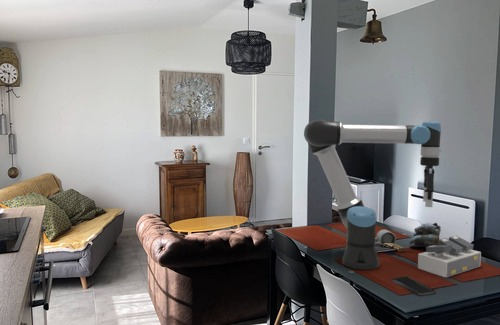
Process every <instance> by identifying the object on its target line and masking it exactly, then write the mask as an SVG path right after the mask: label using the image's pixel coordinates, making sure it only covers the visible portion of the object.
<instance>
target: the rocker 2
mask: <svg viewBox="0 0 500 325" xmlns="http://www.w3.org/2000/svg"><path fill="white" fill-rule="evenodd" d="M437 244H438V245H452V250H451V251H450V252H452V253H454V254H457V253H461V252H462V251H463V247H461V246H459V245H458V244H456V243H454V242H452V241H450V240H449V238H446V237H443V238H439V240H438V243H437Z"/></svg>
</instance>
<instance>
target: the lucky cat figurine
mask: <svg viewBox="0 0 500 325" xmlns="http://www.w3.org/2000/svg"><path fill="white" fill-rule="evenodd" d="M440 234H441V226H440V225H439V224H438V223H437V222H434V223H429V222H428V223H422V224H420V225H418V226H417V227H414V233H413V237H412V238H410V241H409V247H411V248H426V247H429V246H434V245H438V244H437V243H438V240H440Z"/></svg>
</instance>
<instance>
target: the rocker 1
mask: <svg viewBox="0 0 500 325" xmlns="http://www.w3.org/2000/svg"><path fill="white" fill-rule="evenodd" d="M425 250H426V251H425V252H447V251H451V250H452V245H434V246H429V247H425Z"/></svg>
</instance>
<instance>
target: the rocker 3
mask: <svg viewBox="0 0 500 325" xmlns="http://www.w3.org/2000/svg"><path fill="white" fill-rule="evenodd" d="M448 240H450V241H452V242H454V243H456V244H458V245H459V246H461V247H463V250H464V251H468V250H474V247H475V246H474V245H475V244H473V243H471V242H469V241H467V240H465V239H463V238H461V237H460V236H458V235H453V236H449V237H448Z"/></svg>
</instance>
